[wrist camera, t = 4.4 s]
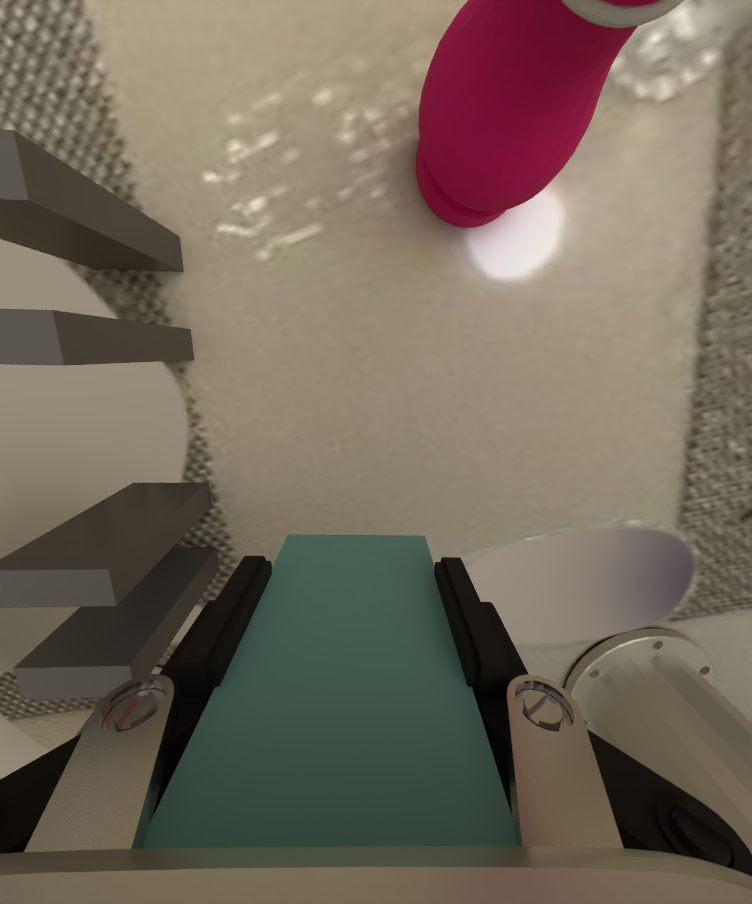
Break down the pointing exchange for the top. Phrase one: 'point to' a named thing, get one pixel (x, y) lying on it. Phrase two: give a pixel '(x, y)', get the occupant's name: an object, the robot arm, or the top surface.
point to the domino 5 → (340, 716)
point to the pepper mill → (515, 98)
